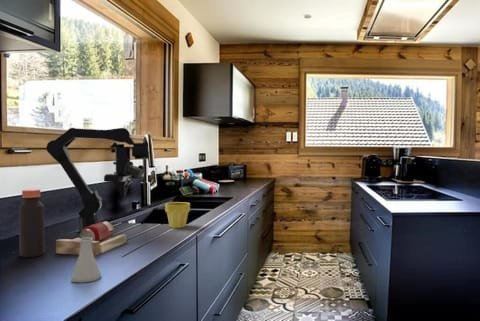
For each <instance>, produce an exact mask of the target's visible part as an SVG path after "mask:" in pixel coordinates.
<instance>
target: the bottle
mask: <svg viewBox="0 0 480 321" xmlns="http://www.w3.org/2000/svg"><path fill="white" fill-rule="evenodd" d="M21 195H22V196H21V197H22V200H23V202H22V203H21V204H20V205H19V207H18V230H19V231H18V236H19V238H18V239H19V256H20V257H21V258H35V257H38V256H42V255H44V254H45V252H46V251H45V250H46V249H45V246H46V245H45V244H46V243H45V242H46V241H45V240H46V239H45V205H44V204H43V203H42V202H41V201H40V199H41V189H39V188H38V189H37V188H33V189H31V188H30V189H23V190H22V191H21Z"/></svg>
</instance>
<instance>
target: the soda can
mask: <svg viewBox="0 0 480 321" xmlns="http://www.w3.org/2000/svg"><path fill="white" fill-rule="evenodd" d="M114 231H115V230H114V226H113V225H112V224H111V222H109V221H106V220H105V221H104V220H103V221H100V222H99V221H98V223H97V224H94V225H91V226H88V227H86V228H84V229H83V230H82V232H81V233H79V239H81V238H87V237H88V238H92V239H93V240H92V241H100V243H101V242H104V241H106V240H109V239H112V238H113V236H114Z"/></svg>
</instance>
